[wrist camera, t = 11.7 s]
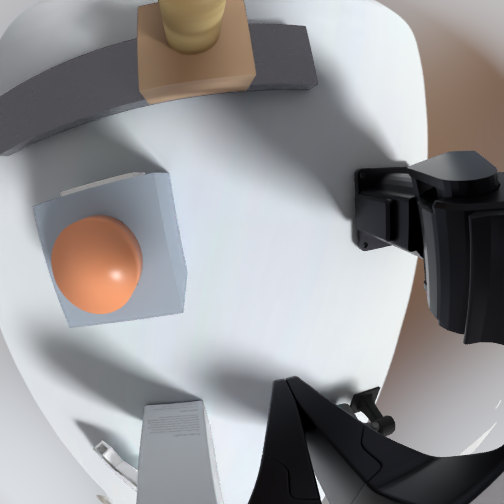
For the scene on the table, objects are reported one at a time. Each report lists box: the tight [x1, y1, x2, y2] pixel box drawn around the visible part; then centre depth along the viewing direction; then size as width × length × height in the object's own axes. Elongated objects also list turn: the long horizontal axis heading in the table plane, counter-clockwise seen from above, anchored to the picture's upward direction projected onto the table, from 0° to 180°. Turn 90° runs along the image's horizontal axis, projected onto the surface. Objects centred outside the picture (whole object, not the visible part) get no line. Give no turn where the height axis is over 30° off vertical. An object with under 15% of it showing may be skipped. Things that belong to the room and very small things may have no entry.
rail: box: [0, 24, 318, 156], centre depth 14 cm, size 24×5×2 cm, turn 97°
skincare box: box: [136, 401, 224, 504], centre depth 17 cm, size 6×4×12 cm
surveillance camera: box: [337, 387, 395, 436], centre depth 21 cm, size 6×12×10 cm
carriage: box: [137, 0, 256, 105], centre depth 10 cm, size 6×6×8 cm
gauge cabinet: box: [33, 172, 187, 328], centre depth 15 cm, size 7×7×6 cm
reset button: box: [51, 215, 143, 314], centre depth 12 cm, size 4×4×4 cm
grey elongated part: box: [93, 440, 138, 492], centre depth 22 cm, size 15×8×11 cm
